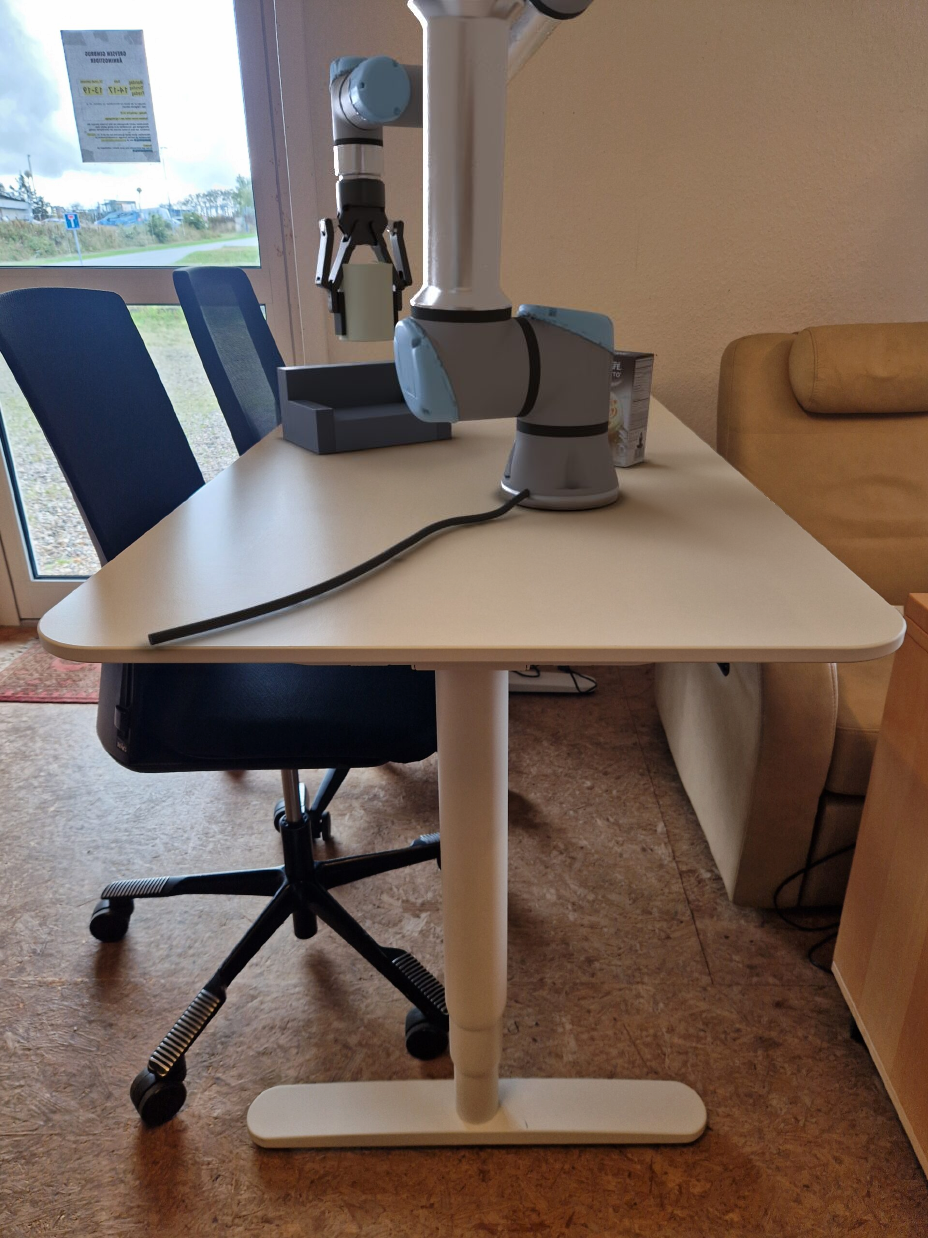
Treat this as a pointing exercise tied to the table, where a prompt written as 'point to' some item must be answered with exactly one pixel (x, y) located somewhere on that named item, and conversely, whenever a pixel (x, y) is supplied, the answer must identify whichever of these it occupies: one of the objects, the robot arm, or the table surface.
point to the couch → (350, 408)
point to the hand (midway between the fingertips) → (367, 333)
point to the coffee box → (629, 406)
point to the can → (368, 302)
